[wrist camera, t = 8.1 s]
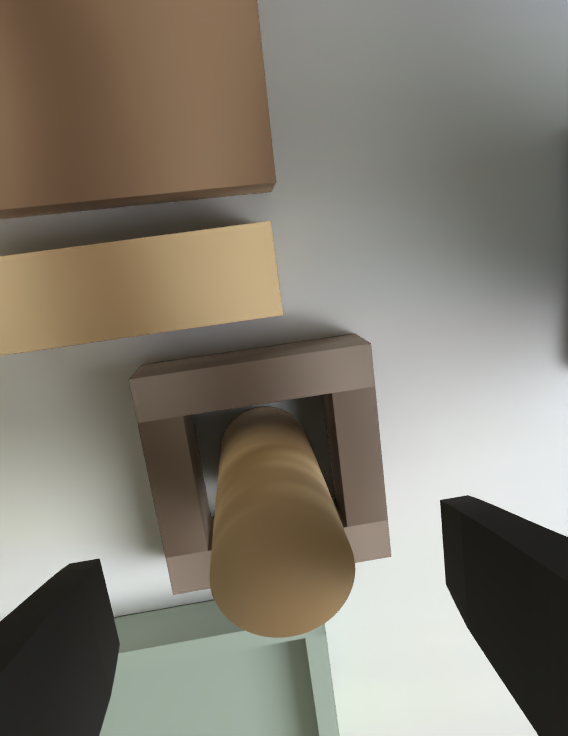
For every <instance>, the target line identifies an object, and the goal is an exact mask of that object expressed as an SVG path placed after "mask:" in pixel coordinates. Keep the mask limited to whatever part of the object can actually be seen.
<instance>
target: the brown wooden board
mask: <svg viewBox="0 0 568 736" xmlns="http://www.w3.org/2000/svg"><path fill="white" fill-rule="evenodd" d="M275 183H276V178H275V168H274V159H273V149H272V140H271V130H270V120H269V111H268V101H267V92H266V82H265V73H264V63H263V53H262V44H261V34H260V25H259V15H258V6H257V0H0V219H8V218H18V217H27V216H37V215H47V214H57V213H67V212H77V211H87V210H97V209H106V208H116V207H126V206H136V205H146V204H156V203H166V202H176V201H185V200H195V199H205V198H215V197H225V196H235V195H245V194H255V193H264V192H271V191H272V189H273V187H274V185H275Z"/></svg>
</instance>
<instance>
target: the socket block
mask: <svg viewBox="0 0 568 736" xmlns="http://www.w3.org/2000/svg"><path fill="white" fill-rule="evenodd" d="M129 384H130V389H131V394H132V398H133V403H134V408H135V413H136V418H137V422H138V427H139V432H140V437H141V442H142V447H143V451H144V456H145V461H146V466H147V471H148V475H149V480H150V485H151V490H152V495H153V500H154V504H155V509H156V514H157V519H158V524H159V529H160V533H161V538H162V543H163V548H164V553H165V557H166V562H167V567H168V572H169V577H170V582H171V586H172V591H173V595H175V594H181V593H186V592H192V591H198V590H203V589H209V588H210V579H209V577H210V562H211V550H212V539H213V528H214V518H211V515H210V510H209V504H208V499H207V493H206V488H205V482H204V477H203V471H202V466H201V460H200V455H199V449H198V444H197V438H196V433H195V427H194V422H193V416H192V415H193V414H199V413H206V412H212V411H219V410H225V409H232V408H238V407H245V406H251V405H258V404H264V403H271V402H277V401H284V400H290V399H297V398H303V397H310V396H316V395H323V399H324V408H325V416H326V424H327V433H328V441H329V449H330V458H331V466H332V474H333V483H334V491H335V498H332V500H333V503H334V505H335V508H336V510H337V513H338V515H339V518H340V520H341V523H342V525H343V528H344V531H345V533H346V536H347V538H348V541H349V543H350V546H351V548H352V551H353V555H354V560H355V563H357V562H363V561H369V560H374V559H380V558H386V557H391V548H390V538H389V527H388V517H387V506H386V496H385V485H384V475H383V464H382V454H381V443H380V433H379V422H378V412H377V401H376V391H375V380H374V370H373V360H372V349H371V343H369V342H368V341H366V340H364V339H363V338H361V337H360V336H358V335H356V334H350V335H343V336H336V337H330V338H323V339H316V340H309V341H302V342H296V343H289V344H282V345H275V346H268V347H262V348H255V349H248V350H241V351H234V352H228V353H221V354H214V355H207V356H200V357H194V358H187V359H180V360H173V361H166V362H160V363H153V364H146V365H141V366H140V368H139V369H138V370H137V371H136V372H135V373H134V374H133V375H132V376H131V377H130V379H129Z"/></svg>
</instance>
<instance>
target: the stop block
mask: <svg viewBox="0 0 568 736" xmlns="http://www.w3.org/2000/svg"><path fill="white" fill-rule="evenodd" d="M281 315H283V309H282V302H281V294H280V287H279V279H278V272H277V264H276V257H275V249H274V242H273V234H272V227H271V221H265V222H258V223H250V224H243V225H235V226H227V227H220V228H212V229H205V230H197V231H189V232H182V233H174V234H167V235H159V236H151V237H144V238H136V239H129V240H121V241H113V242H106V243H98V244H91V245H83V246H75V247H68V248H60V249H53V250H45V251H37V252H30V253H22V254H15V255H7V256H0V356H2V355H9V354H16V353H23V352H30V351H37V350H44V349H50V348H57V347H64V346H71V345H78V344H85V343H92V342H99V341H106V340H113V339H120V338H127V337H134V336H141V335H148V334H155V333H162V332H169V331H176V330H183V329H190V328H197V327H204V326H211V325H218V324H225V323H232V322H239V321H246V320H253V319H260V318H267V317H274V316H281Z"/></svg>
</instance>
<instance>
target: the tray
mask: <svg viewBox="0 0 568 736" xmlns="http://www.w3.org/2000/svg"><path fill="white" fill-rule="evenodd" d="M114 621H115V625H116V629H117V633H118V637H119V642H120V647H119V653H118V660H117V666H116V672H115V677H114V683H113V688H112V693H111V698H110V701H109V705H108V708H107V711H106V715H105V718H104V722H103V725H102V728H101V732H100V735H99V736H339V729H338V721H337V714H336V706H335V698H334V691H333V683H332V676H331V668H330V661H329V653H328V646H327V638H326V631H325V623H324V624H323V625H321V626H319V627H318V628H316V629H314V630H312V631H309V632H307V633H304V634H301V635H297V636H293V637H285V638H272V637H264V636H259V635H255V634H252V633H250V632H247V631H245V630H243V629H241V628H239V627H238V626H236V625H235V624H233V623H232V622H231V621H230V620H229V619H228V618H227V617H226V616H225V615H224V614H223V613H222V612H221V610H220V609H219V607H218V606H217V604H216V602H215V600H212V601H207V602H201V603H195V604H190V605H184V606H178V607H173V608H167V609H161V610H156V611H150V612H144V613H139V614H133V615H127V616H122V617H116V618H114Z"/></svg>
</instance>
